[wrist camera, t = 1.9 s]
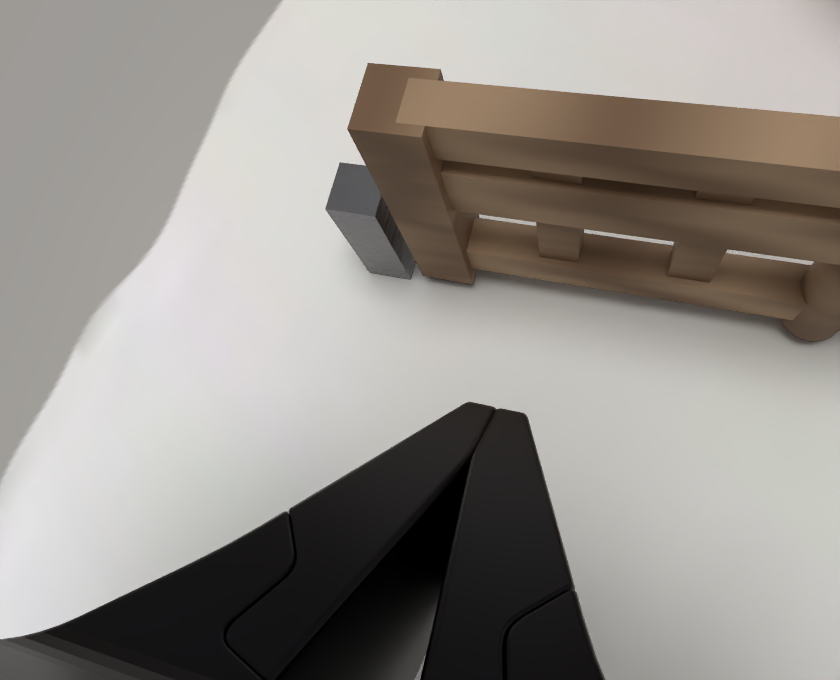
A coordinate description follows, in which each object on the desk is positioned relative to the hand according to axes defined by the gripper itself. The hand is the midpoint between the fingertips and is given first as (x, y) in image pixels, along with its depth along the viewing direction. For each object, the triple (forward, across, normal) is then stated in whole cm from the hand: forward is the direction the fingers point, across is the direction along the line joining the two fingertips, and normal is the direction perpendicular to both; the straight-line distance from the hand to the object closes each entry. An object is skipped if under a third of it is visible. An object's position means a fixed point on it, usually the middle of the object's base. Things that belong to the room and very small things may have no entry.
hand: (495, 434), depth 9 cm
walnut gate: (+15, -1, +4) cm, 15 cm away
